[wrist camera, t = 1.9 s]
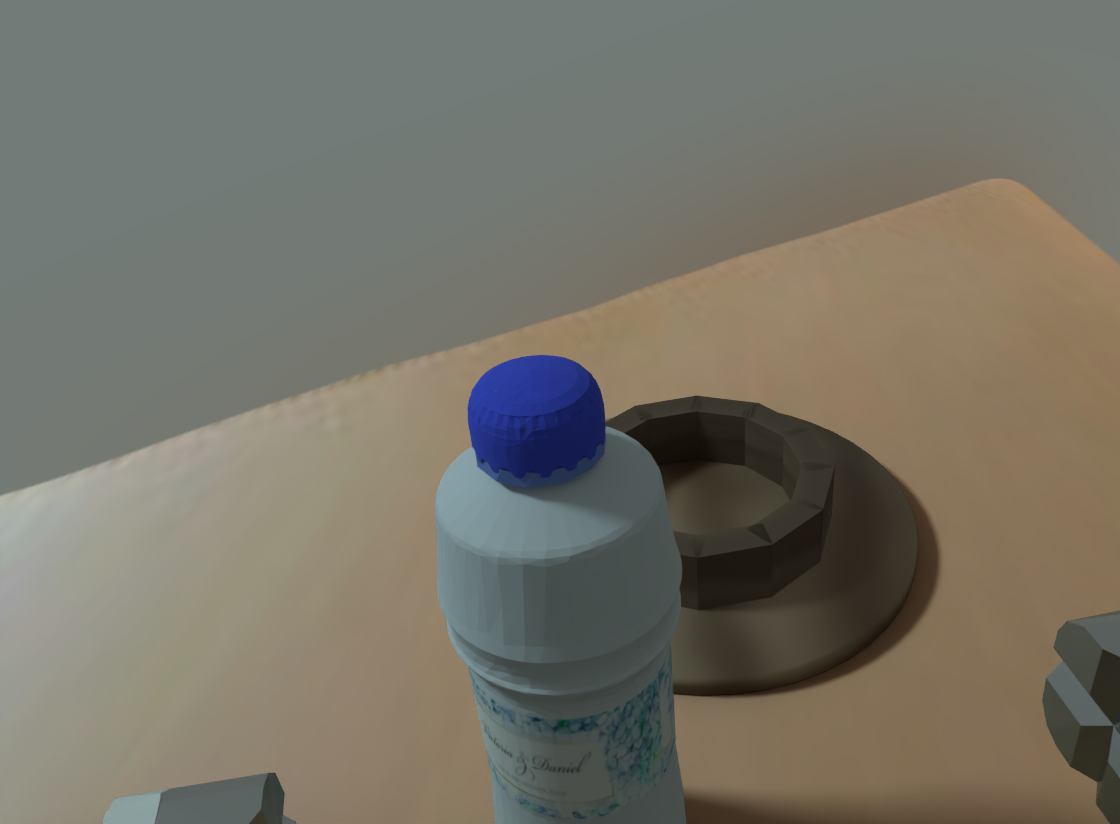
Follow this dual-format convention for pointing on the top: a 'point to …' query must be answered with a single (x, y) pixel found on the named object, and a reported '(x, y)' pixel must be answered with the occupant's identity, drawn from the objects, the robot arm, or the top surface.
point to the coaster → (814, 598)
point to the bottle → (563, 600)
